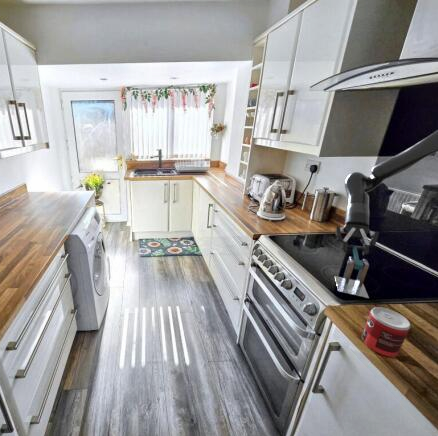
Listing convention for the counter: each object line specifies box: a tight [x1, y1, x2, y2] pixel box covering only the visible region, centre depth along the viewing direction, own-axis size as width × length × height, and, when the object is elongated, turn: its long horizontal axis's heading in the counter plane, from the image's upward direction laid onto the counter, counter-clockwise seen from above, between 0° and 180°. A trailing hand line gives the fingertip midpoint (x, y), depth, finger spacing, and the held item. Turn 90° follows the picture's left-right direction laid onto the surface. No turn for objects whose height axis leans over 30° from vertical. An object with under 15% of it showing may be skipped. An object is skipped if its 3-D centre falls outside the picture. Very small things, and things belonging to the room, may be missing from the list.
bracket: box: [334, 256, 370, 299], centre depth 91 cm, size 11×9×13 cm
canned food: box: [361, 306, 411, 359], centre depth 67 cm, size 8×8×11 cm
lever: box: [347, 244, 363, 271], centre depth 93 cm, size 12×5×2 cm, turn 150°
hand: (354, 253), depth 95 cm, fingers open, 5 cm apart
